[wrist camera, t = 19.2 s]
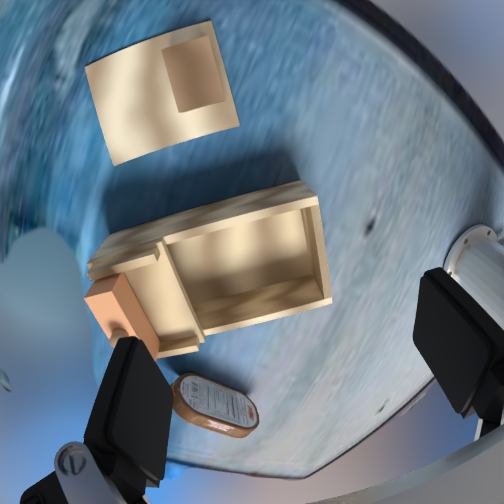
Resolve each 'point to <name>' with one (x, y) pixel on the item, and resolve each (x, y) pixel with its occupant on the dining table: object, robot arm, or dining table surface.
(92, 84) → the lid
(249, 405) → the tin
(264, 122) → the dining table surface
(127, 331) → the peach boxy piece
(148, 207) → the dining table surface
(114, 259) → the toolbox
